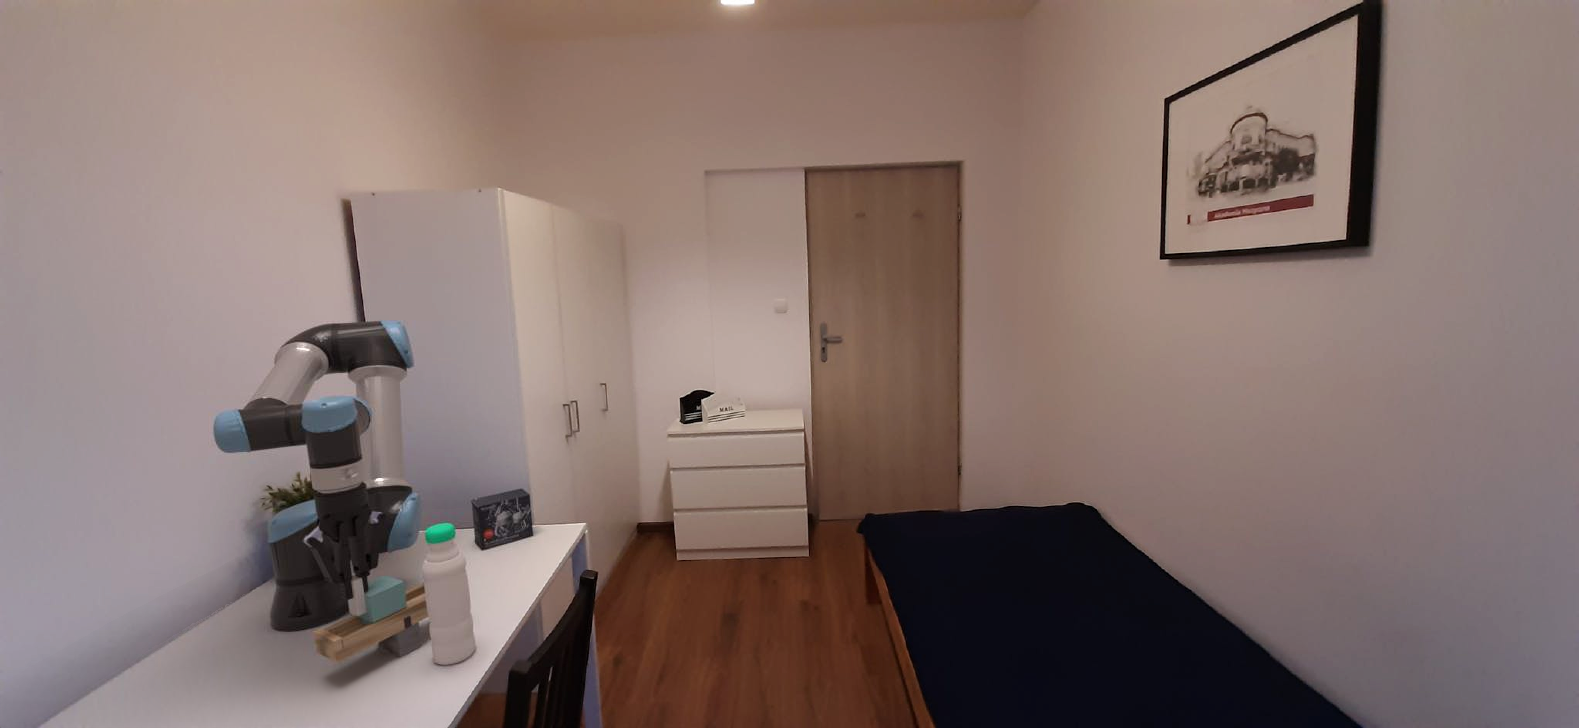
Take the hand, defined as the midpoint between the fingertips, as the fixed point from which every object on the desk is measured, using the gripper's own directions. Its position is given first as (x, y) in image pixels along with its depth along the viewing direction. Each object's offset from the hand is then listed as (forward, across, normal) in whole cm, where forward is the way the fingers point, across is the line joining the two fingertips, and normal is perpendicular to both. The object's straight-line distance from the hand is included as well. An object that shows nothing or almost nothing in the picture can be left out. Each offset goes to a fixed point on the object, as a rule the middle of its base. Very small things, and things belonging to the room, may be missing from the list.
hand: (358, 612), depth 113 cm
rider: (+3, +4, 0) cm, 5 cm away
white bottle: (+11, +9, -12) cm, 18 cm away
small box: (+11, +48, +25) cm, 55 cm away
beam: (+10, +6, 0) cm, 12 cm away
